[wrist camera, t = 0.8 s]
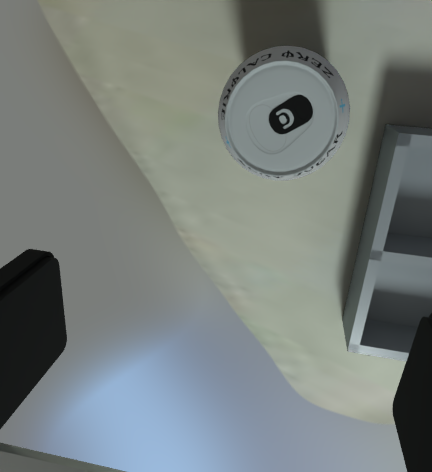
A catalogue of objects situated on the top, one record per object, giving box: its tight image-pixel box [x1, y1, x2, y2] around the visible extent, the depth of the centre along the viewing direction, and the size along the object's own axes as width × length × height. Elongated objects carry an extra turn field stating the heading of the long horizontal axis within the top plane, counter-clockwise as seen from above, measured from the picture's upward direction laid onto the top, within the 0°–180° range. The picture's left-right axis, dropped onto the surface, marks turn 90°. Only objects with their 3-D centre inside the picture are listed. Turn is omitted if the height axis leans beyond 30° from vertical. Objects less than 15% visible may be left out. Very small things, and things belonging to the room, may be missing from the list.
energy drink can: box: [218, 46, 350, 180], centre depth 24 cm, size 6×6×15 cm
